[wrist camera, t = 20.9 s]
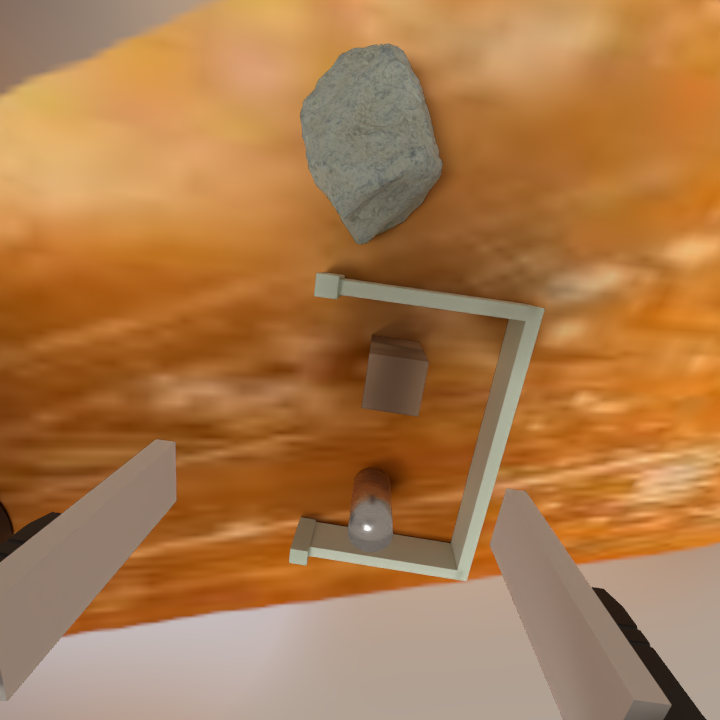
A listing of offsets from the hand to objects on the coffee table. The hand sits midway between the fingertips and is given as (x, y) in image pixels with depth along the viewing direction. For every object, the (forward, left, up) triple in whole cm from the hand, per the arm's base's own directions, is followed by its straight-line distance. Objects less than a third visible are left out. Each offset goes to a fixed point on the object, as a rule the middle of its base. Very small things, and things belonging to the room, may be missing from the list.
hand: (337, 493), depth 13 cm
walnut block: (+3, 0, -20) cm, 20 cm away
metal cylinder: (+3, -14, -20) cm, 24 cm away
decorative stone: (-1, +17, -20) cm, 27 cm away
